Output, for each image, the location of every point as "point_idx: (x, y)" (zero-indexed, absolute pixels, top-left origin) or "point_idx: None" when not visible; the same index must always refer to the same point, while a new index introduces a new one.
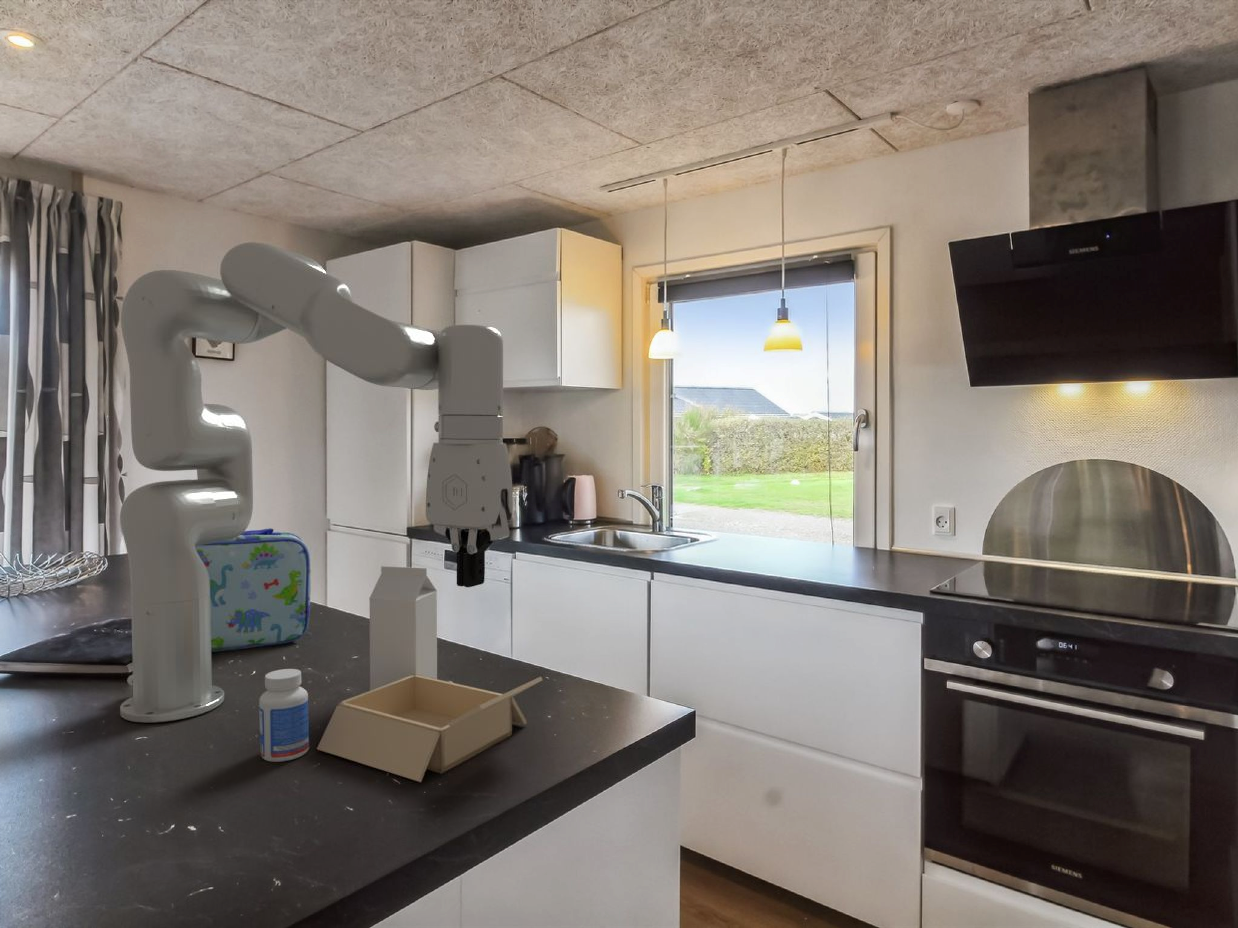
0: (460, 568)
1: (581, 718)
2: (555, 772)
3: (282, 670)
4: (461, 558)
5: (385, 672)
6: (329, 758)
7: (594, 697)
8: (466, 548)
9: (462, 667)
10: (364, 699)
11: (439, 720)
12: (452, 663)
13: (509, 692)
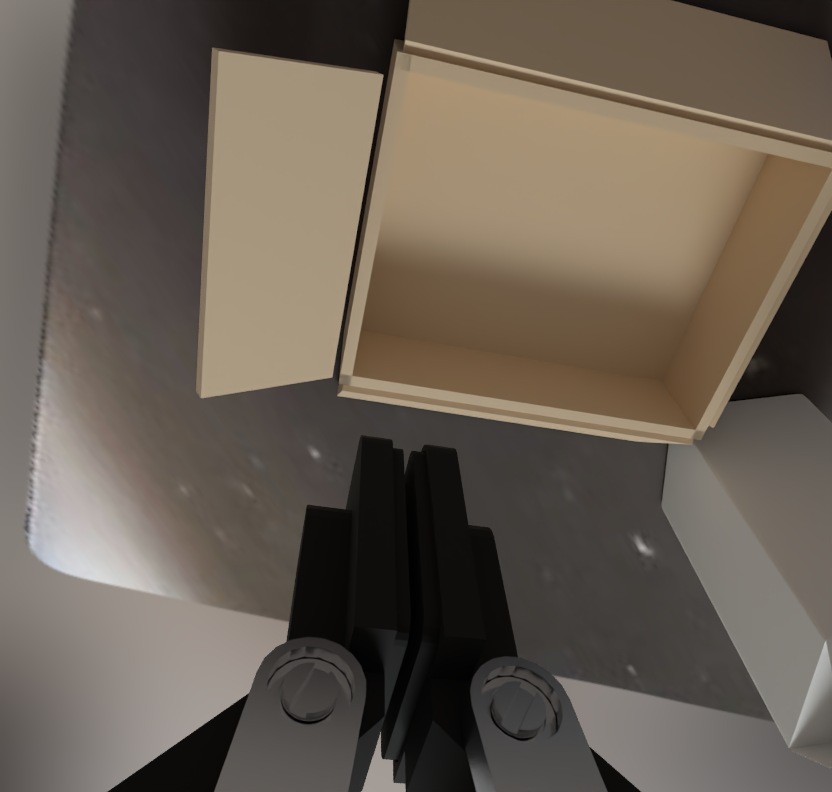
0: (433, 532)
1: (235, 465)
2: (108, 160)
3: None
4: (429, 600)
5: (799, 445)
6: (766, 17)
7: (272, 570)
8: (425, 727)
9: (653, 621)
10: (783, 244)
11: (558, 329)
12: (687, 633)
13: (208, 231)
